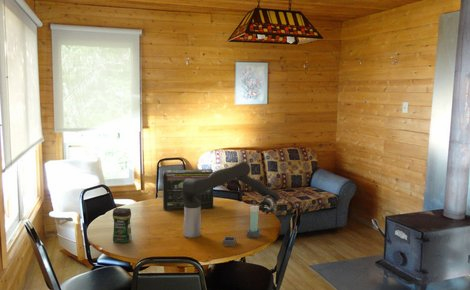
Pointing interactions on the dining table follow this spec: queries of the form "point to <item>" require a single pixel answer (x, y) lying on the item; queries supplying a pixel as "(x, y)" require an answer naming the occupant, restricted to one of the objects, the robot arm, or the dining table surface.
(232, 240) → the holster
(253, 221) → the plug
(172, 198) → the router box
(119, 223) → the coffee jar
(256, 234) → the tray
